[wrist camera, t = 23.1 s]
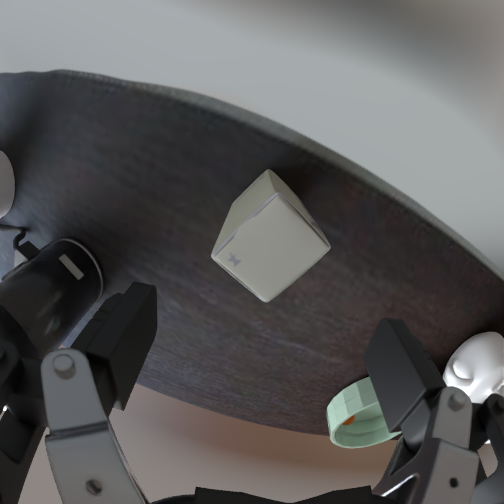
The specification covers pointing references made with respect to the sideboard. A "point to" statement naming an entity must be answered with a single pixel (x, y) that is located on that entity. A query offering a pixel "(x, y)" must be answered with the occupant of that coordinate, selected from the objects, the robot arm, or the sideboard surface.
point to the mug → (6, 184)
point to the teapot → (477, 366)
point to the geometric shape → (503, 392)
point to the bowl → (357, 417)
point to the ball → (349, 420)
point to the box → (268, 238)
